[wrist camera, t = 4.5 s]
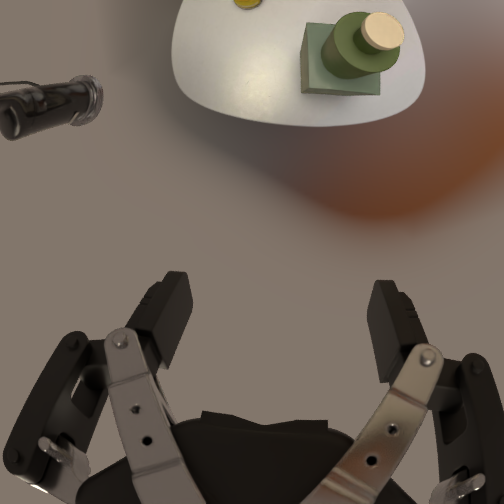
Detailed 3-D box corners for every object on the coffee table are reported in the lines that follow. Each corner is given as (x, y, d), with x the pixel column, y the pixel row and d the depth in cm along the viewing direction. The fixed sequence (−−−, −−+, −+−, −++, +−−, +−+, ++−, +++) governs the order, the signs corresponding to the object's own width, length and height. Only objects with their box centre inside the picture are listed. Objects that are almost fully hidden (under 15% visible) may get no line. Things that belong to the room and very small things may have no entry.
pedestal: (301, 92, 41) (308, 87, 24) (300, 52, 37) (306, 22, 20) (344, 95, 40) (380, 95, 23) (344, 55, 36) (378, 31, 19)
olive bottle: (321, 77, 23) (345, 60, 12) (319, 33, 20) (340, -12, 9) (369, 82, 22) (424, 75, 11) (367, 39, 20) (419, 6, 9)
